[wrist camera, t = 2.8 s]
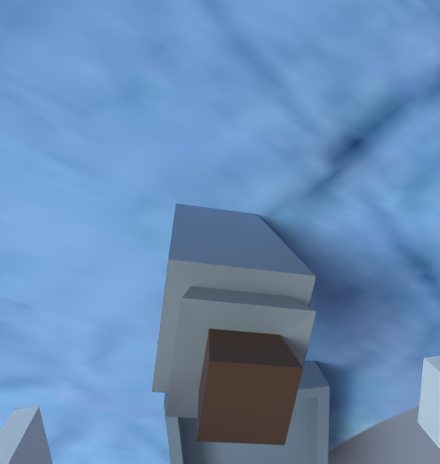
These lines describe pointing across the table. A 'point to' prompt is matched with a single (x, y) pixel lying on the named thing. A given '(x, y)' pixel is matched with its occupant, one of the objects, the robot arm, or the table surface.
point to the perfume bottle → (232, 327)
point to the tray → (262, 455)
